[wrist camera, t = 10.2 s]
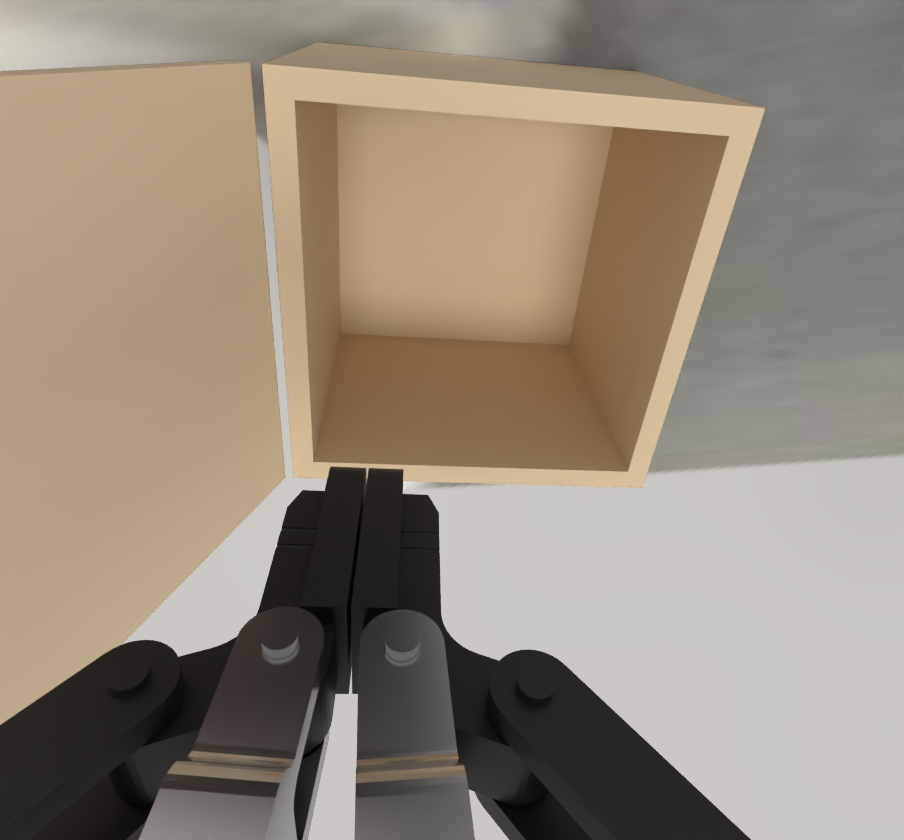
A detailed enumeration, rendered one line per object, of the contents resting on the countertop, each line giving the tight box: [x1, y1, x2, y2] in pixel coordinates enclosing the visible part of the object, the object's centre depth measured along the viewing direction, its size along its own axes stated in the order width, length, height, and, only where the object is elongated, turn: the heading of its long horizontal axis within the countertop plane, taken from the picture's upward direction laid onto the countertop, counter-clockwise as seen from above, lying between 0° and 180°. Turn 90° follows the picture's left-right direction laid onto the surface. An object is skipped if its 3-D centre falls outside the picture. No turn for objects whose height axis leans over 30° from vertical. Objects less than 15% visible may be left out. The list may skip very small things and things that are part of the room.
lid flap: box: [0, 60, 285, 725], centre depth 15 cm, size 14×14×1 cm
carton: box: [262, 42, 765, 488], centre depth 26 cm, size 14×14×12 cm
